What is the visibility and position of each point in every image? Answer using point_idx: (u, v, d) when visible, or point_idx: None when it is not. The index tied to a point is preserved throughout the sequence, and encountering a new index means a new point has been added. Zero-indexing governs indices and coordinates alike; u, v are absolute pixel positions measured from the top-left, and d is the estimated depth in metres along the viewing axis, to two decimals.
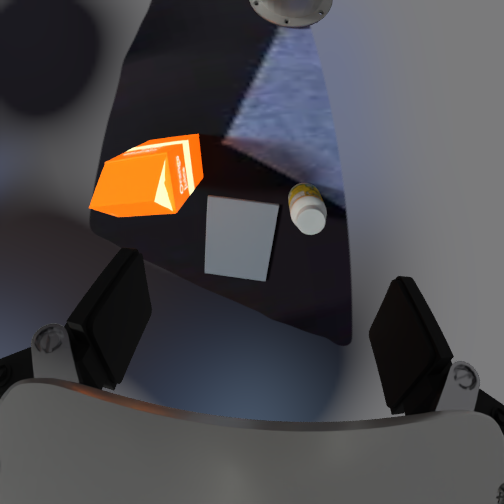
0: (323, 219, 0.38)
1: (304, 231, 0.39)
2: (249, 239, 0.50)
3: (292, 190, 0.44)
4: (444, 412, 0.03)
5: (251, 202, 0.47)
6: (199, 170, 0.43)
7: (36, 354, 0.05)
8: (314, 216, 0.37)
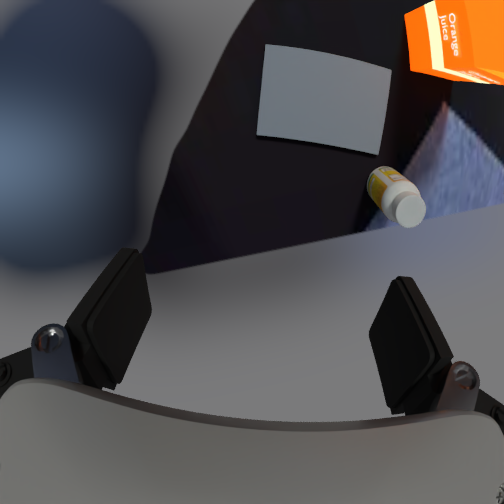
0: (412, 225, 0.28)
1: (401, 204, 0.27)
2: (330, 113, 0.30)
3: (399, 173, 0.33)
4: (444, 412, 0.03)
5: (383, 121, 0.30)
6: (427, 72, 0.24)
7: (36, 354, 0.05)
8: (417, 215, 0.27)
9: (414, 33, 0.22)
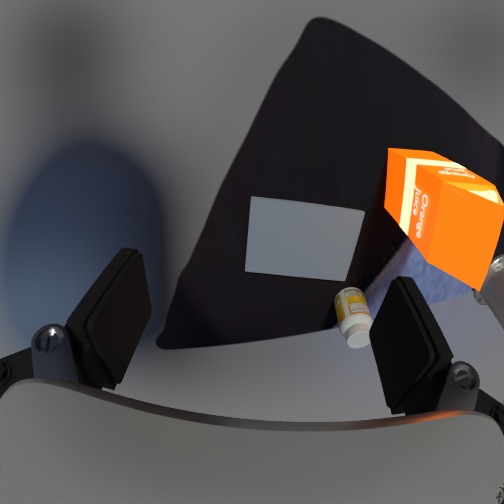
0: (360, 347, 0.39)
1: (351, 337, 0.37)
2: (306, 254, 0.41)
3: (361, 293, 0.43)
4: (444, 412, 0.03)
5: (351, 256, 0.41)
6: None
7: (36, 354, 0.05)
8: (364, 341, 0.38)
9: (393, 176, 0.32)
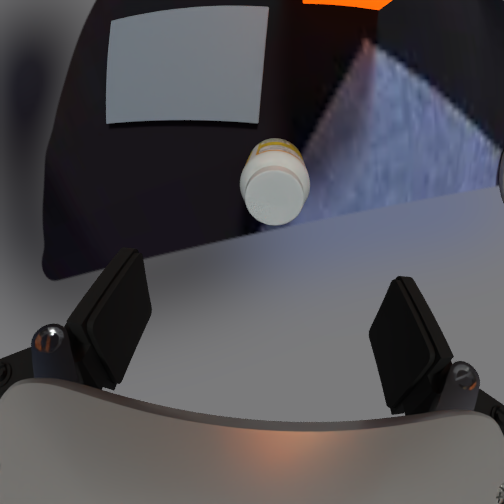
0: (282, 221, 0.19)
1: (251, 187, 0.18)
2: (184, 79, 0.22)
3: (292, 145, 0.24)
4: (444, 412, 0.03)
5: (260, 76, 0.22)
6: None
7: (36, 354, 0.05)
8: (287, 204, 0.19)
9: None
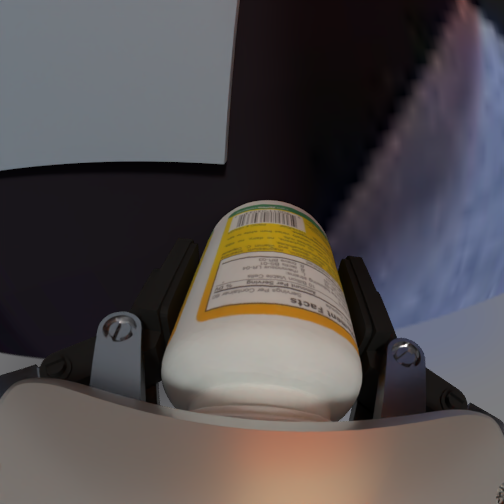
0: None
1: None
2: (64, 74, 0.08)
3: (311, 224, 0.10)
4: (444, 412, 0.03)
5: (229, 42, 0.08)
6: None
7: (107, 343, 0.06)
8: None
9: None
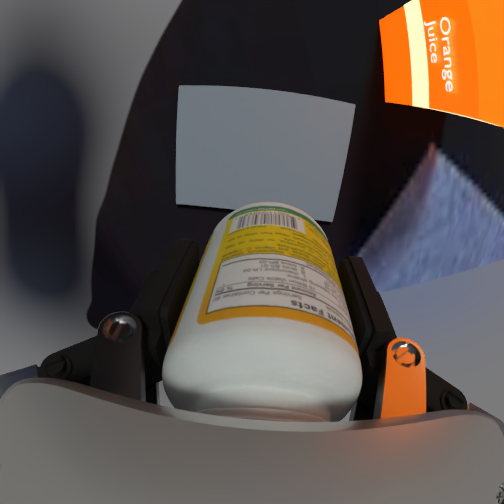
0: None
1: None
2: (266, 172, 0.26)
3: (311, 226, 0.10)
4: (444, 412, 0.03)
5: (340, 178, 0.25)
6: None
7: (107, 343, 0.06)
8: None
9: (391, 47, 0.17)
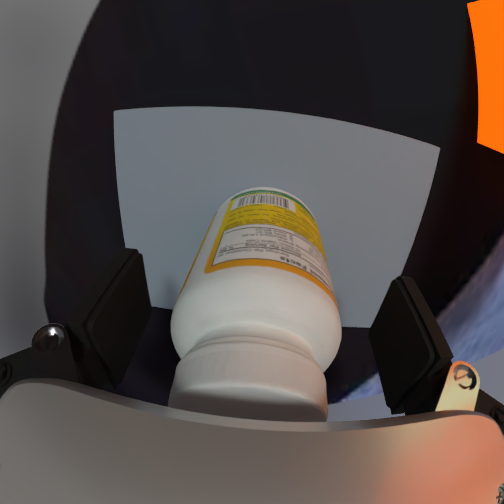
0: None
1: (181, 403, 0.06)
2: None
3: (301, 207, 0.12)
4: (444, 412, 0.03)
5: (399, 271, 0.15)
6: None
7: (36, 354, 0.05)
8: None
9: (499, 53, 0.06)
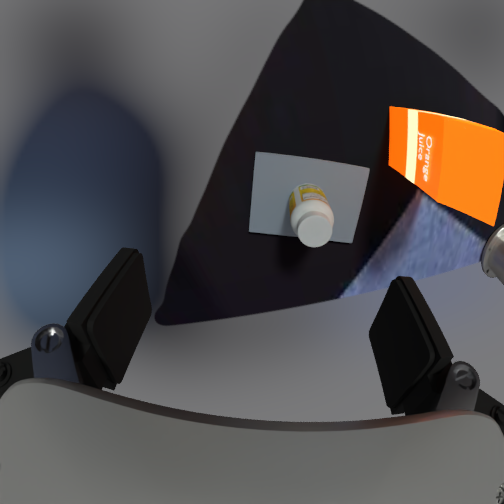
0: (318, 245, 0.32)
1: (302, 224, 0.30)
2: None
3: (320, 190, 0.36)
4: (444, 412, 0.03)
5: (357, 216, 0.40)
6: None
7: (36, 354, 0.05)
8: (322, 235, 0.31)
9: (395, 131, 0.31)
